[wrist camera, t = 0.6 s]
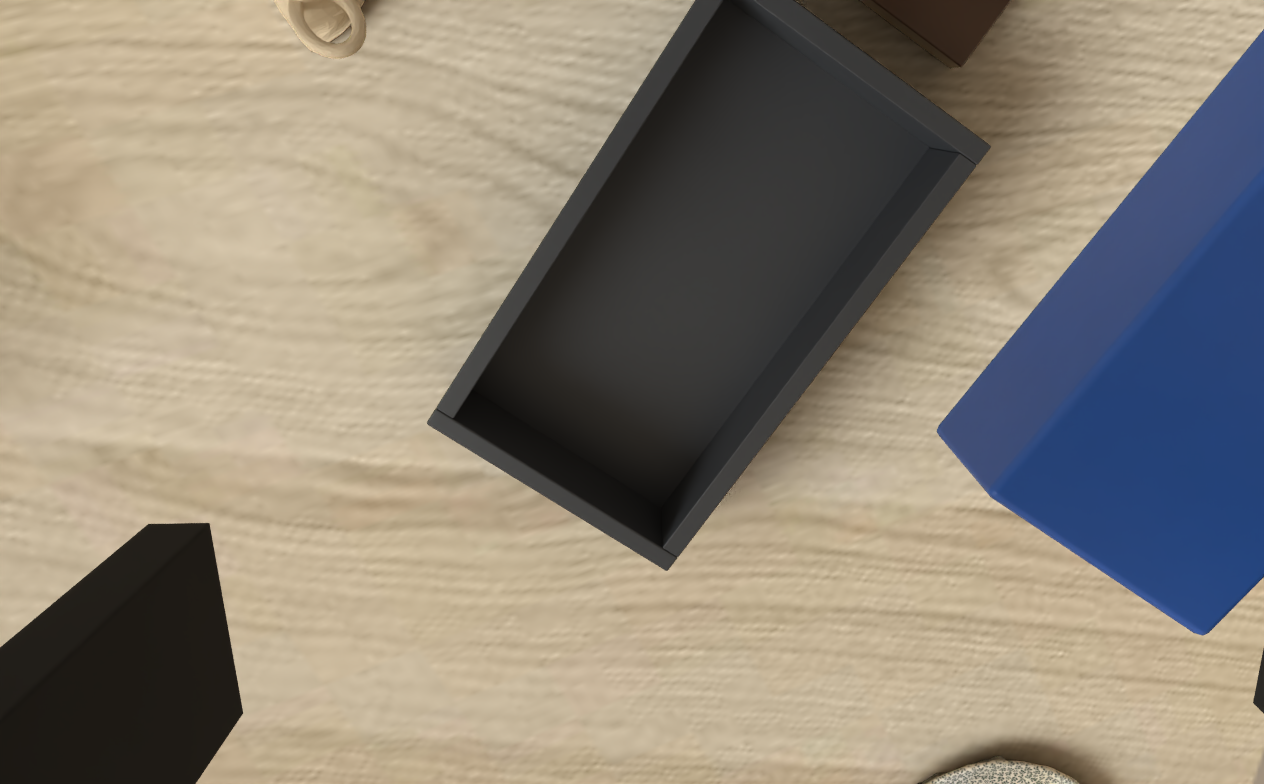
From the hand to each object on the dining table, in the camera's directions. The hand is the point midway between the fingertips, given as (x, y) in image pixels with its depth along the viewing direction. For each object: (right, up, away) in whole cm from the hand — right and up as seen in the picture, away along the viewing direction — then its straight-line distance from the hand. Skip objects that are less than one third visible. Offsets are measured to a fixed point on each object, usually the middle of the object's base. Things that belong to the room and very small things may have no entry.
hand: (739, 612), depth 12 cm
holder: (+1, +8, +28) cm, 29 cm away
